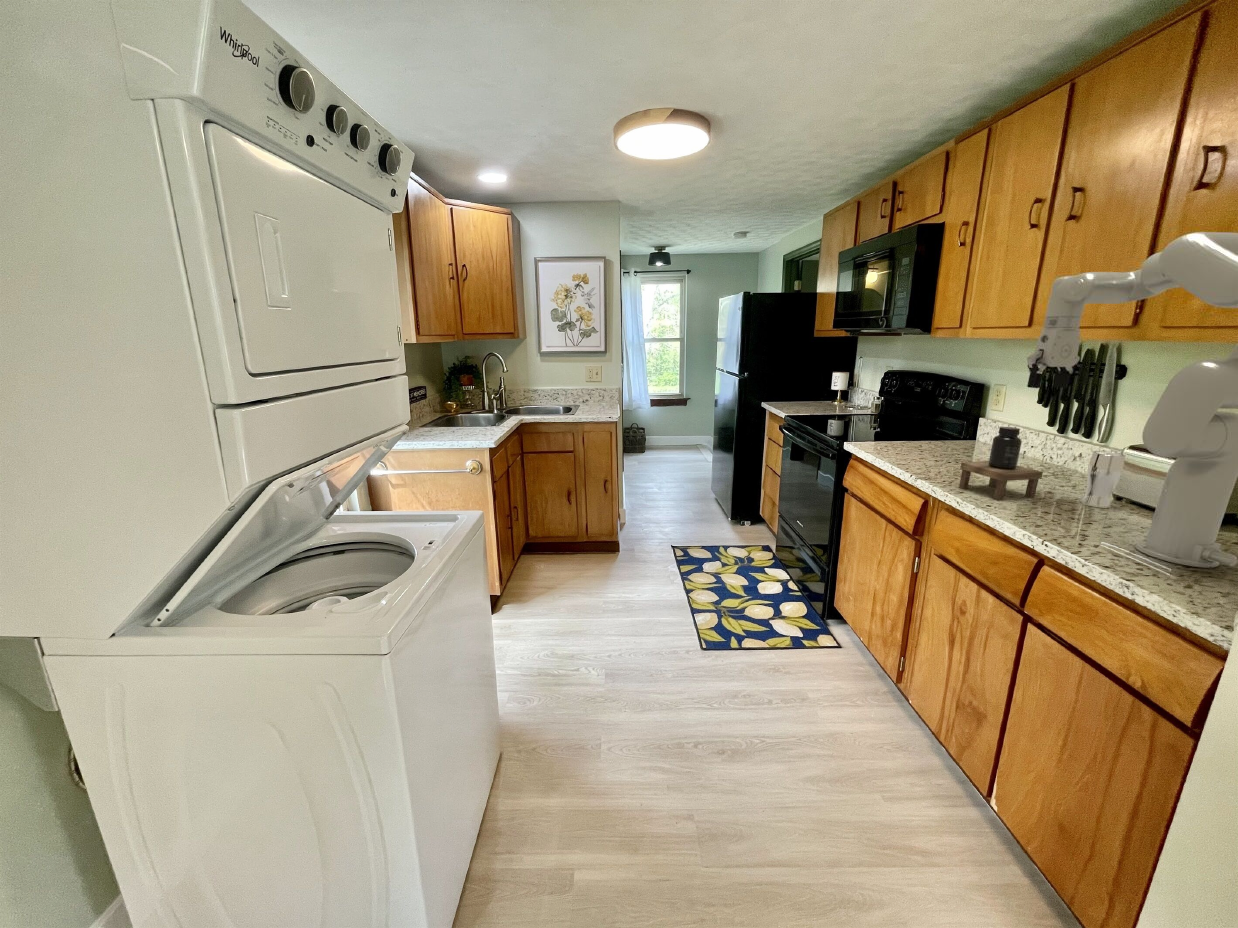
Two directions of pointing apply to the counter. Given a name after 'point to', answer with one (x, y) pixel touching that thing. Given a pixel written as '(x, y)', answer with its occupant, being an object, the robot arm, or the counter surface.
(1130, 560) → the counter surface
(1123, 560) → the counter surface
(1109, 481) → the beer glass
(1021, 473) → the walnut stool
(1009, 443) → the supplement bottle
